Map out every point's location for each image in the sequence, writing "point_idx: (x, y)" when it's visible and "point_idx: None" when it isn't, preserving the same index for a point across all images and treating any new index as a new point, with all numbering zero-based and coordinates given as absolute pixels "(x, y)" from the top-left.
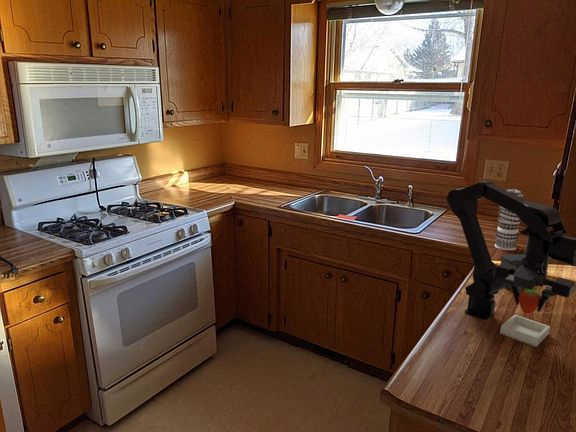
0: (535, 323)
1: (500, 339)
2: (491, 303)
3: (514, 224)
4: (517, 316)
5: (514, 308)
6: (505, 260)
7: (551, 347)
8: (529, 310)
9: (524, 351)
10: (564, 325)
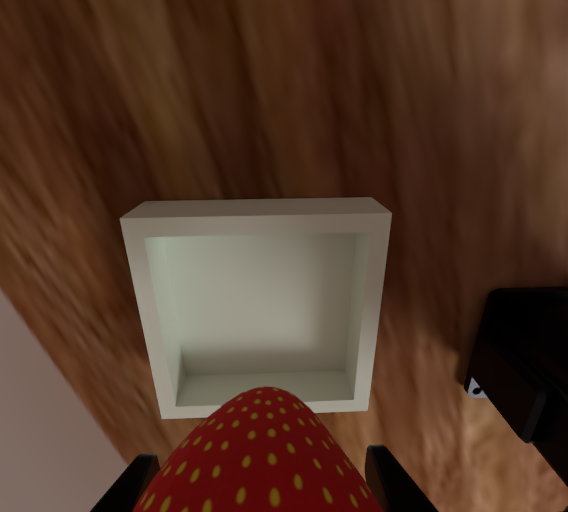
0: None
1: (344, 121)
2: (546, 399)
3: None
4: (345, 399)
5: None
6: None
7: (93, 265)
8: (218, 415)
9: (163, 81)
10: None
